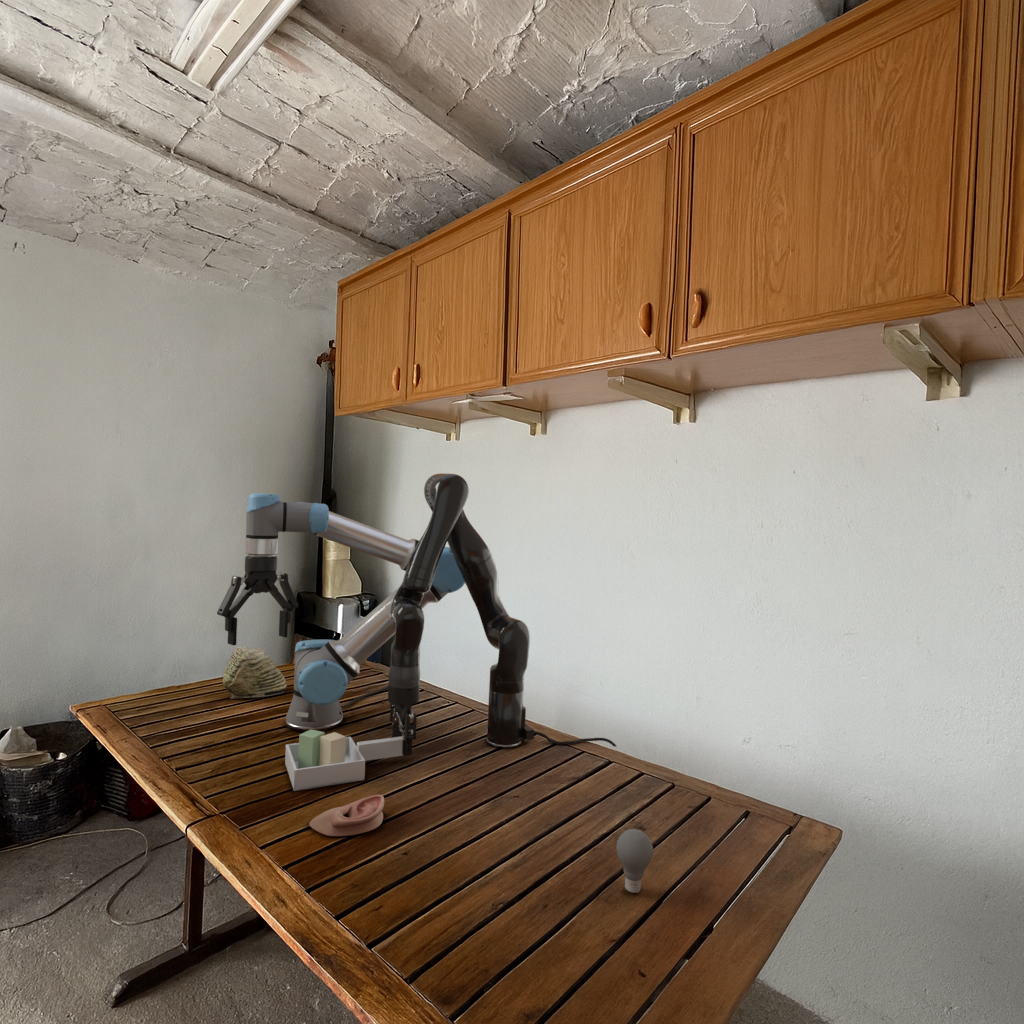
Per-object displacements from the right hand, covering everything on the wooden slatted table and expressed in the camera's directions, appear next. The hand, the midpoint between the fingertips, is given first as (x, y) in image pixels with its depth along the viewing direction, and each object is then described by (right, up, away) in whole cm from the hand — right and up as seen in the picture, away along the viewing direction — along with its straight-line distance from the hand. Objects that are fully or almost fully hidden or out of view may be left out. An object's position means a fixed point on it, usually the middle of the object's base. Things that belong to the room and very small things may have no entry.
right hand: (401, 748), depth 154 cm
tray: (-11, -3, -5) cm, 12 cm away
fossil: (-54, 0, +44) cm, 69 cm away
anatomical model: (-5, -3, -30) cm, 31 cm away
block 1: (-20, -2, -8) cm, 21 cm away
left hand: (-36, +25, +4) cm, 45 cm away
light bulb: (+47, -6, -48) cm, 68 cm away
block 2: (-15, -2, -9) cm, 17 cm away
